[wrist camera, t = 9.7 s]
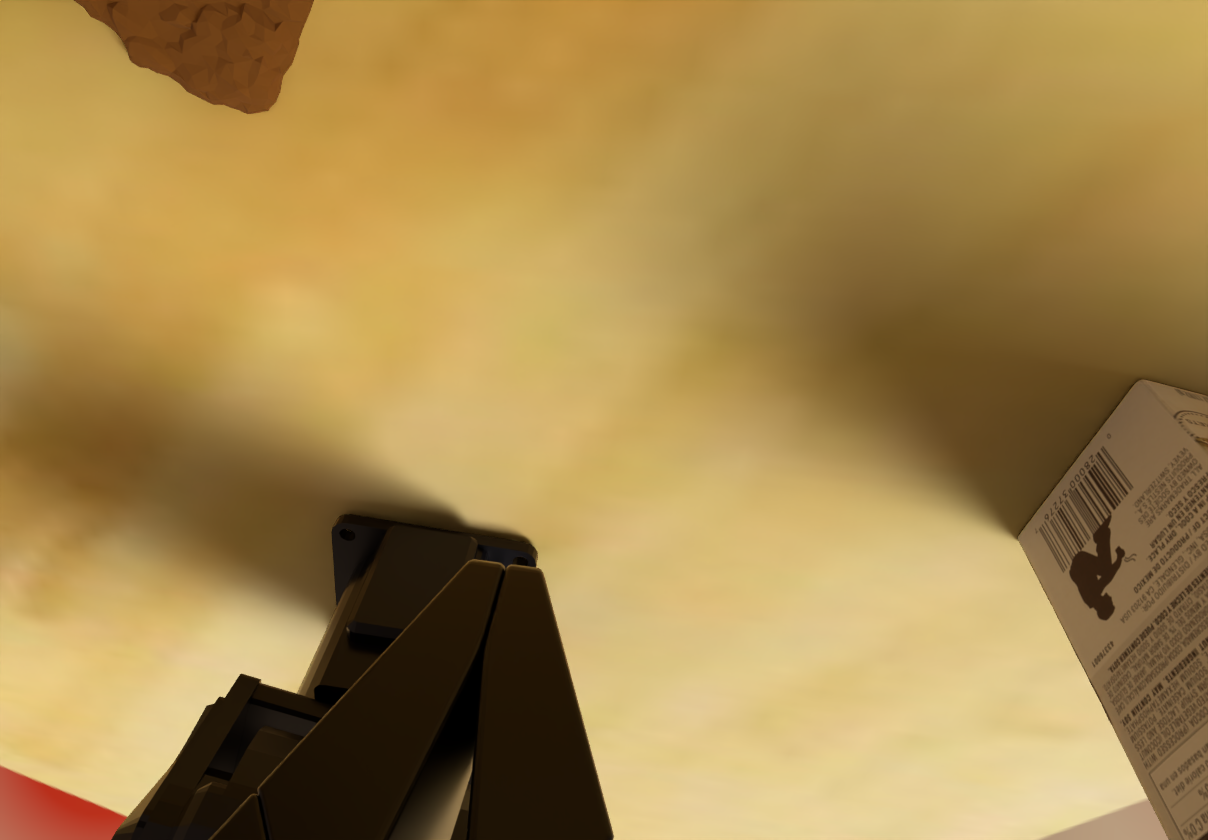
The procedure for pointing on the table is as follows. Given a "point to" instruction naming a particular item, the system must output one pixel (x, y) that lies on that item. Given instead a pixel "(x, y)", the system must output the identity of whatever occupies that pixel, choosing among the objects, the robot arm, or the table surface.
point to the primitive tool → (211, 44)
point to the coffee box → (1140, 588)
